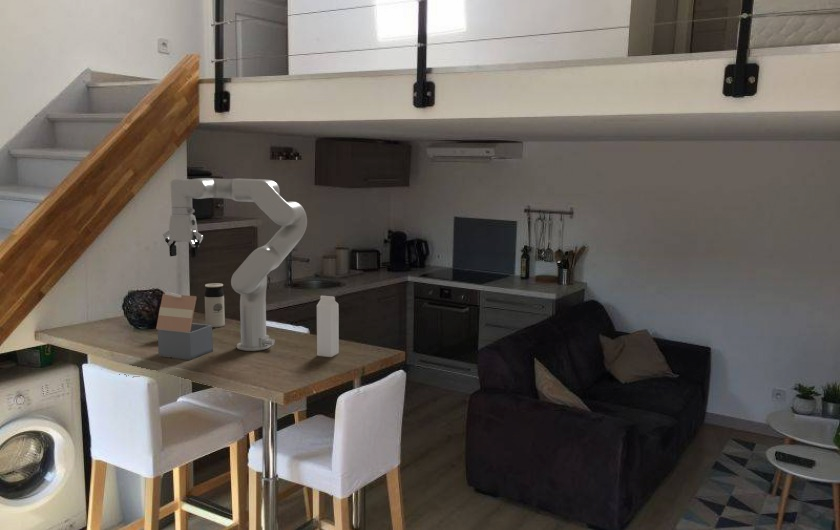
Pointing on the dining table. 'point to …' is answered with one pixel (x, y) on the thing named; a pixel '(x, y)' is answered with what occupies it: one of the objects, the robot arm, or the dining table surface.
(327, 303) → the milk
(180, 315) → the lid
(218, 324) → the travel mug
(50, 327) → the dining table surface
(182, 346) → the carton
